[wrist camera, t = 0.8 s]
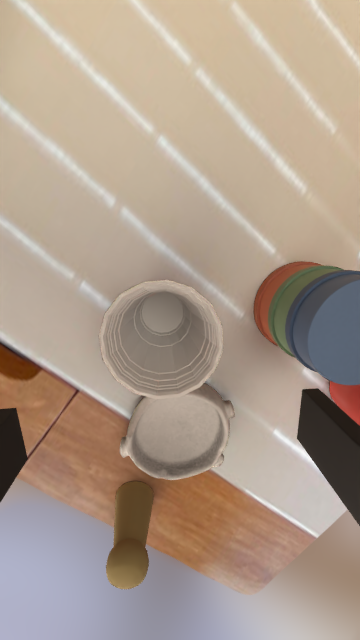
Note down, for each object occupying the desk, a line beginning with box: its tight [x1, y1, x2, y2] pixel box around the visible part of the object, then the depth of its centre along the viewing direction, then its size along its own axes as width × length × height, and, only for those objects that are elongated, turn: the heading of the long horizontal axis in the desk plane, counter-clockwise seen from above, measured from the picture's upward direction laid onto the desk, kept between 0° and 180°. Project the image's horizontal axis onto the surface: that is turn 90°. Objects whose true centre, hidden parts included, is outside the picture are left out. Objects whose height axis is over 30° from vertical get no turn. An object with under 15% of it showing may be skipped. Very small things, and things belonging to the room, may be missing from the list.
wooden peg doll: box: [106, 481, 154, 589], centre depth 36 cm, size 6×6×11 cm
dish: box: [120, 383, 235, 480], centre depth 36 cm, size 14×14×5 cm
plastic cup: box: [99, 280, 223, 399], centre depth 28 cm, size 11×11×12 cm
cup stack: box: [254, 262, 360, 385], centre depth 29 cm, size 12×12×12 cm
